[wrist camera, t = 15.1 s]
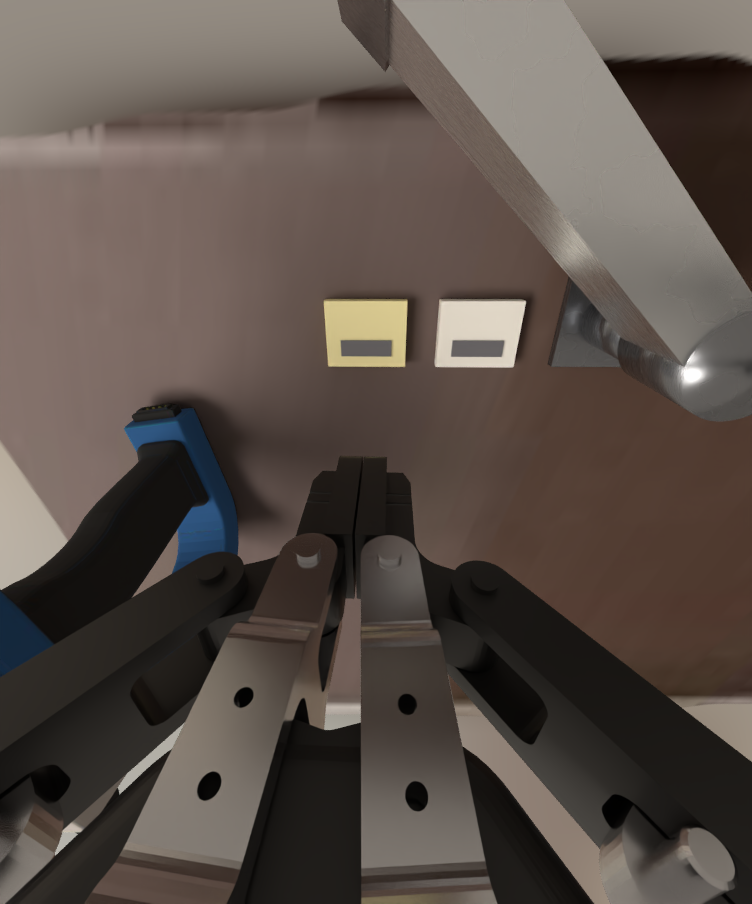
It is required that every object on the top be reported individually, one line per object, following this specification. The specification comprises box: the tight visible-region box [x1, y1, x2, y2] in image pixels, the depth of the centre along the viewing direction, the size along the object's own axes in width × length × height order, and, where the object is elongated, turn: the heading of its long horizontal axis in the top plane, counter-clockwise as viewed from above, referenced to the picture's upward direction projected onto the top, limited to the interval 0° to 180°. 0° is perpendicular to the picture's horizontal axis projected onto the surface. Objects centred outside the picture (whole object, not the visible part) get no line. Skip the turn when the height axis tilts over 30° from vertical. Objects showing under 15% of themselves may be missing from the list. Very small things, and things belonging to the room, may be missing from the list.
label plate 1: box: [324, 299, 407, 367], centre depth 23 cm, size 5×4×1 cm
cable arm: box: [338, 0, 752, 421], centre depth 13 cm, size 21×4×5 cm, turn 50°
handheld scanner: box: [0, 404, 238, 834], centre depth 21 cm, size 5×16×20 cm, turn 9°
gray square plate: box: [548, 277, 621, 367], centre depth 21 cm, size 6×6×5 cm
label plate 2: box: [434, 299, 526, 367], centre depth 23 cm, size 5×4×1 cm
